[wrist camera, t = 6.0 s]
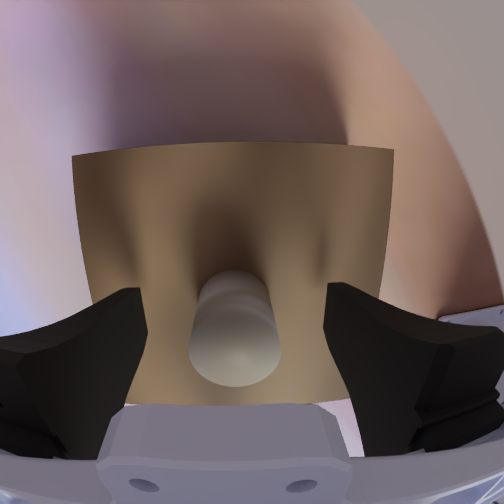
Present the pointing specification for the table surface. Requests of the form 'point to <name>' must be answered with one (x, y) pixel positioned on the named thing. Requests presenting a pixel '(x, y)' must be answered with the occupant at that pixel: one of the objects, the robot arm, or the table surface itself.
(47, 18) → the table surface
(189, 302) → the cover
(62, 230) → the table surface
